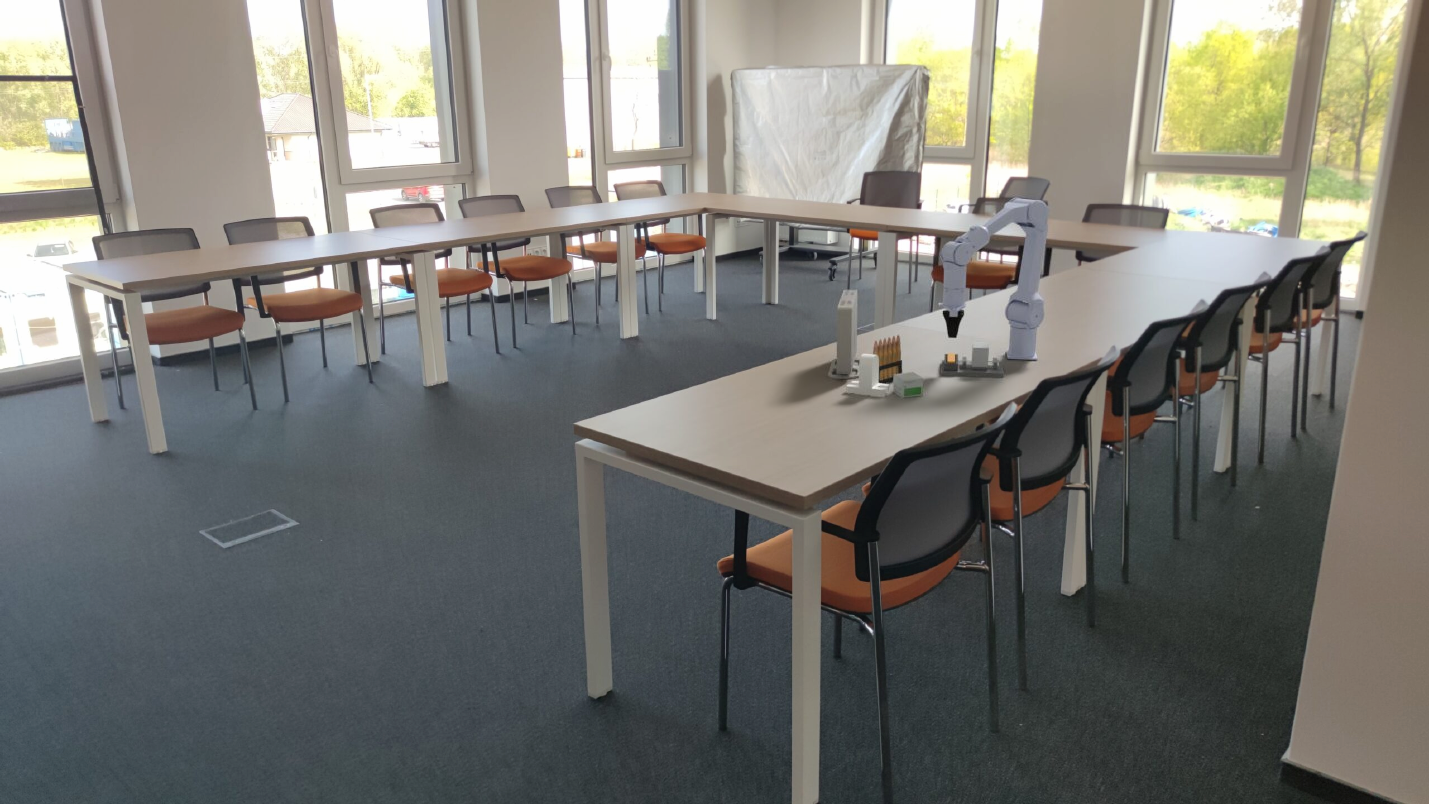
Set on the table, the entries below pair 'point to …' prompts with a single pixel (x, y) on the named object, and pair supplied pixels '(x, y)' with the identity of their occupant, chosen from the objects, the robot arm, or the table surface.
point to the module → (980, 355)
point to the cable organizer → (868, 378)
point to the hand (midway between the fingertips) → (952, 337)
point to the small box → (908, 384)
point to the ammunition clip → (888, 359)
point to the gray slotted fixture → (966, 364)
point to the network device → (846, 337)
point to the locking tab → (951, 358)
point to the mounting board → (973, 371)
